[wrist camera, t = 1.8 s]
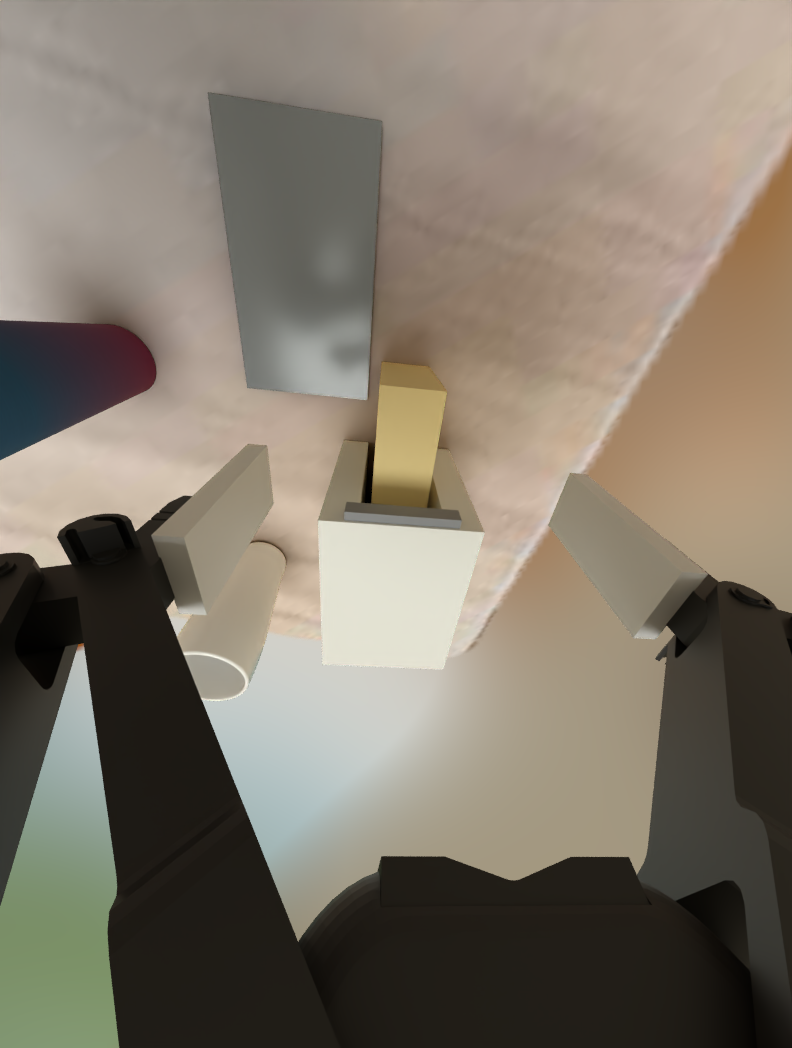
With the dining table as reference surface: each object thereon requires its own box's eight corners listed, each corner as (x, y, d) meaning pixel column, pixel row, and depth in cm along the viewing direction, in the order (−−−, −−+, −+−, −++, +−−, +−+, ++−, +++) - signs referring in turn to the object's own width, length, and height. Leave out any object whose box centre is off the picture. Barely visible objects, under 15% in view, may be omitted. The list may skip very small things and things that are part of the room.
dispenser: (344, 433, 31) (317, 511, 19) (449, 443, 31) (487, 524, 20) (341, 556, 39) (322, 664, 27) (426, 561, 39) (443, 669, 28)
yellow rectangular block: (381, 361, 28) (379, 384, 19) (429, 366, 28) (447, 391, 19) (371, 506, 35) (366, 568, 27) (408, 509, 35) (415, 571, 27)
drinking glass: (279, 528, 36) (222, 645, 24) (302, 573, 40) (264, 695, 27) (222, 540, 37) (138, 660, 24) (250, 584, 41) (190, 707, 28)
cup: (57, 310, 25) (-274, 313, 12) (148, 310, 25) (-89, 313, 13) (100, 403, 29) (-120, 477, 16) (180, 403, 29) (21, 476, 16)
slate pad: (213, 99, 20) (207, 92, 19) (382, 127, 20) (382, 120, 20) (250, 386, 28) (247, 387, 28) (367, 397, 29) (367, 400, 28)
